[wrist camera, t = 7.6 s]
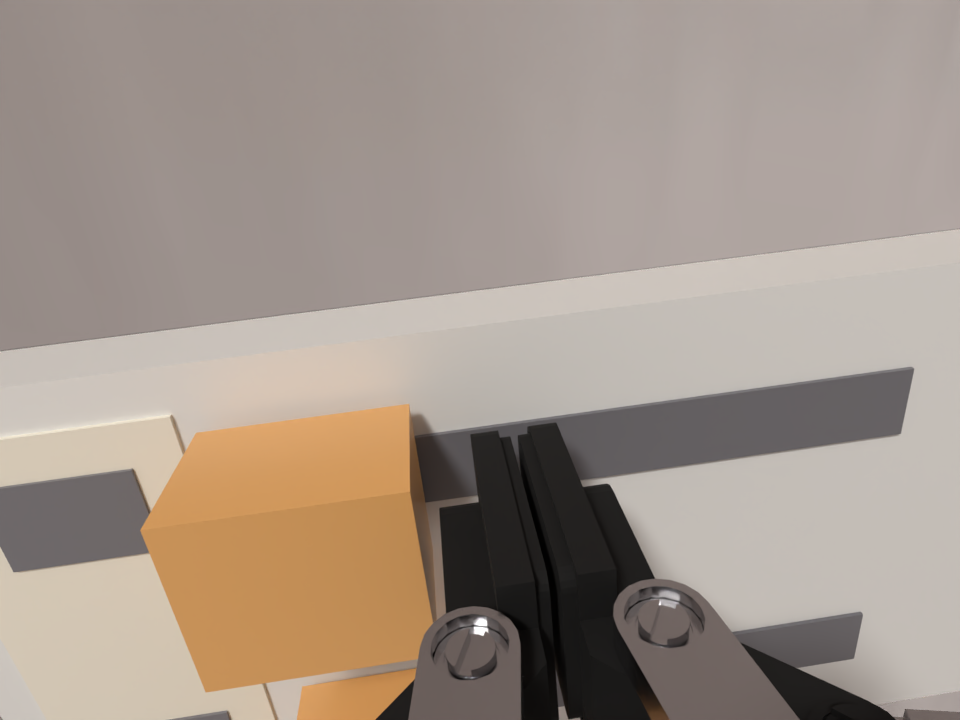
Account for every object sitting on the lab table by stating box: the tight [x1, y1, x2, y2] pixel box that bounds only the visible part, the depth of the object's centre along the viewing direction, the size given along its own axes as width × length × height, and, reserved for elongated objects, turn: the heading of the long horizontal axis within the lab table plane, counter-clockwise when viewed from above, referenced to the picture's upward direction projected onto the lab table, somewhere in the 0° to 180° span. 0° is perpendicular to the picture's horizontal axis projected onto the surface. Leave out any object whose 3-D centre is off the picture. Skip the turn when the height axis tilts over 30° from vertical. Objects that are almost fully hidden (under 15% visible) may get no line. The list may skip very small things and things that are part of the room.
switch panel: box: [0, 229, 960, 720], centre depth 16 cm, size 26×13×2 cm, turn 96°
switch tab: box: [140, 404, 437, 692], centre depth 12 cm, size 4×4×3 cm
